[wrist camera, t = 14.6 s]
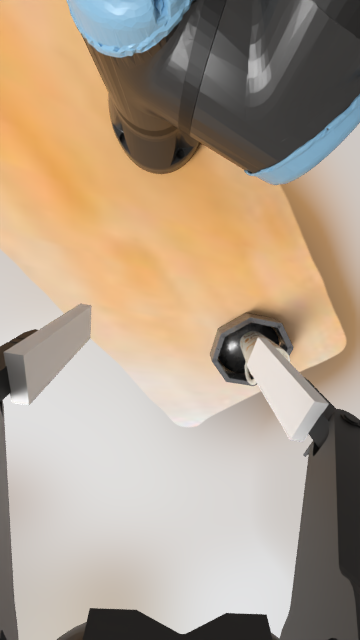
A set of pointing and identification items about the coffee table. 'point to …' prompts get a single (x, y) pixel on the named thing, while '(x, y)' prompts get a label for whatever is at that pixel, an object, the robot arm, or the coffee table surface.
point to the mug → (247, 348)
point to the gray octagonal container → (230, 347)
